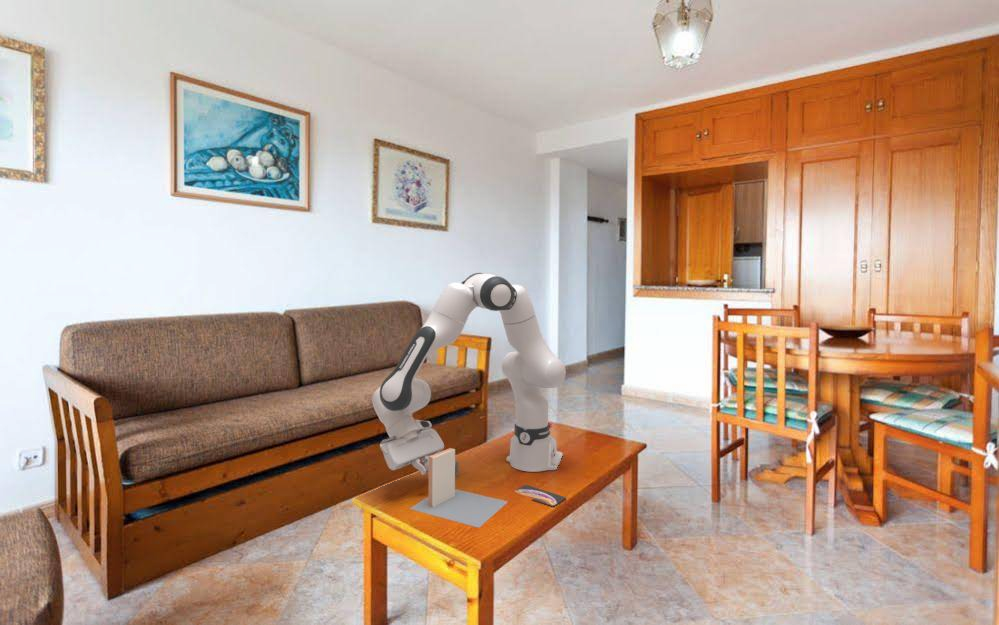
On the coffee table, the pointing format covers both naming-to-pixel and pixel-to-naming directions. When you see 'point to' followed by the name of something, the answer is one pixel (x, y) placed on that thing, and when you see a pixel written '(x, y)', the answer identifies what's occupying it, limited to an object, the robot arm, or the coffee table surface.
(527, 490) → the smartphone
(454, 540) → the coffee table surface
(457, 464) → the dice cube
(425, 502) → the mat
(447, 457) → the tile
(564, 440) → the coffee table surface
